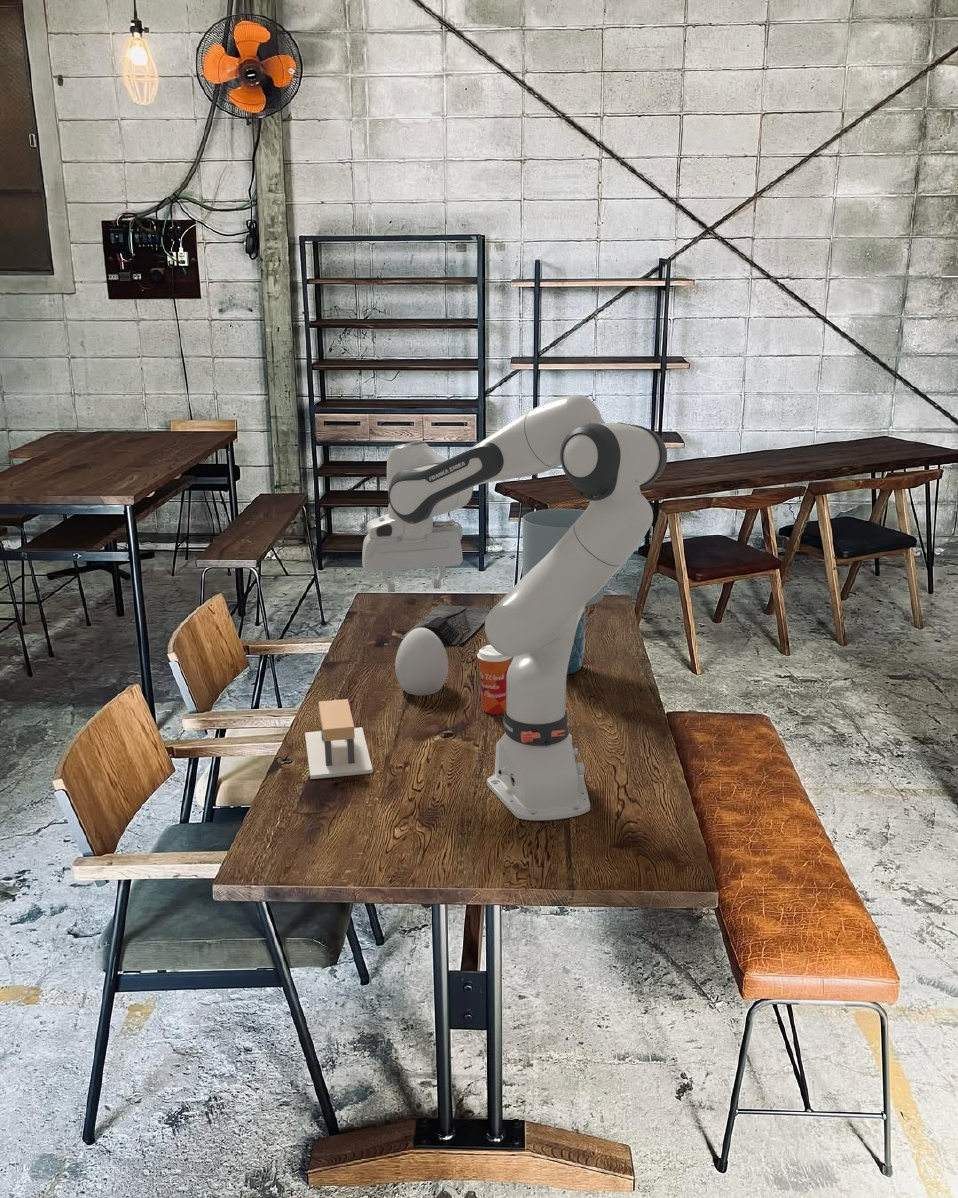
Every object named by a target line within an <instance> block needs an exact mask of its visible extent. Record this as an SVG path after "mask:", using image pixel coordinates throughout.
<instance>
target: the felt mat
mask: <svg viewBox="0 0 958 1198" xmlns="http://www.w3.org/2000/svg"><path fill="white" fill-rule="evenodd" d="M354 733H355V738H354V758H355V763H352V764H349V763H348V749H347V739H344V740H333V741H331V751H332V766H326V760H325V742H324V740H322V735H321V730H319V731H318V730H317V731H316V730H315V731H308V732H304V737H305V745H306V746H305V747H306V753H307V762H308V770H309V777H310V778H309V779H310V780H315V779H317V780H318V779H325V778H326V779H327V778H338V777H344V776H345V777H346V776H355V775H357V776H358V775H367V774H368V775H369V774H373V772H374V769H373V766H372V762H371V757H370V753H369V749H368V745H367V742H366V738H365V733H364V729H363V727H362V726H361V727H354Z"/></svg>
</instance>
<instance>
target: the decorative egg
mask: <svg viewBox="0 0 958 1198" xmlns="http://www.w3.org/2000/svg"><path fill="white" fill-rule="evenodd" d="M394 668H395V674H396V679H397V681H398V683H399V686H400V687H401V688H402V690H403V691H405V692H406V693H407V694H409V695H412V694H413V695H412V696H420V697H421V696H430V695H433V694H436V693H437V692H439V691H440V690H441V689H442V688H443V686H444V685H445V683H446V680H447V677H448V674H449V658H448V654H447V650H446V648H445V645H443V644H442V642H441V640H440V639H439V638H438V637H437V636H436V634H434V633H433V632H432V631H431V630H429V629H426V628H421V627H419V628H416V629H414V630H412V631H411V632H409V633H408V634H407V635H406V637H405V638H404V639H403V640H401V642H400V644H399V646H398V649H397V652H396V655H395V664H394Z"/></svg>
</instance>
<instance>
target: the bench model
mask: <svg viewBox="0 0 958 1198" xmlns="http://www.w3.org/2000/svg"><path fill="white" fill-rule="evenodd" d="M318 714H319V719H320V731H321V735H322V740H324V742H325V760H326V766H332V751H331V741H333V740H344V739H347V749H348V763H349V764H352V763H355V758H354V738H355V733H354V728H355V725H354V720H353V716H352V711H351V707H350V703H349V699H348V698H346V699H334V700H323V701H322V700H319V701H318Z"/></svg>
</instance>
